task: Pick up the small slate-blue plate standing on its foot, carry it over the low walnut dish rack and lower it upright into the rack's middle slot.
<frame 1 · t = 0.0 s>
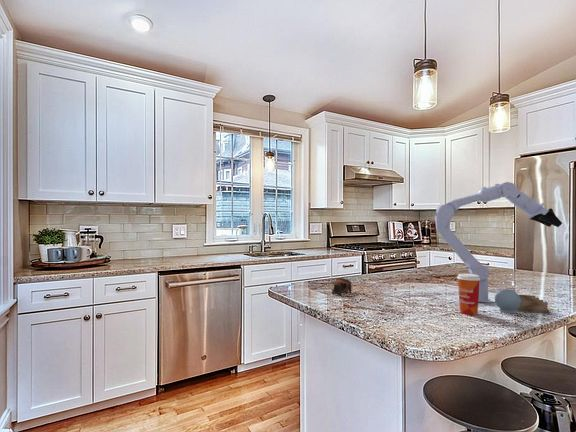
hand: (555, 225, 133), 32 cm above the countertop, tool tilted 50°, fingers open, 7 cm apart
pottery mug: (342, 294, 154), on the countertop
plate: (507, 312, 123), on the countertop
rack: (527, 308, 128), on the countertop
paper cup: (468, 313, 122), on the countertop
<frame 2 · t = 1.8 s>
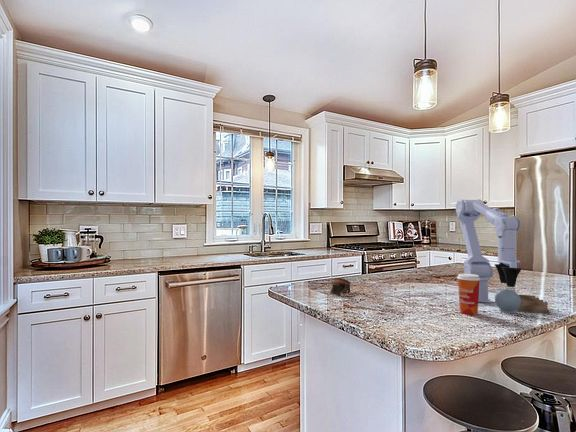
hand: (507, 284, 123), 10 cm above the countertop, tool pointing down, fingers open, 7 cm apart
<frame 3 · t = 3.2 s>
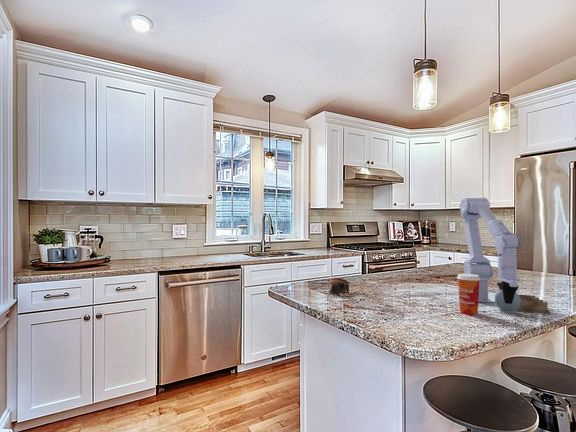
hand: (507, 302, 123), 3 cm above the countertop, tool pointing down, fingers closed on plate, 2 cm apart
plate: (507, 312, 123), on the countertop, touching gripper
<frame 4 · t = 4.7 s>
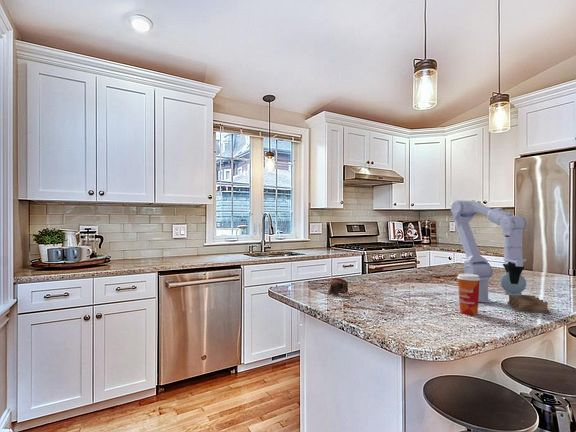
hand: (513, 283, 125), 10 cm above the countertop, tool pointing down, fingers closed on plate
plate: (513, 294, 125), point 6 cm above the countertop, touching gripper
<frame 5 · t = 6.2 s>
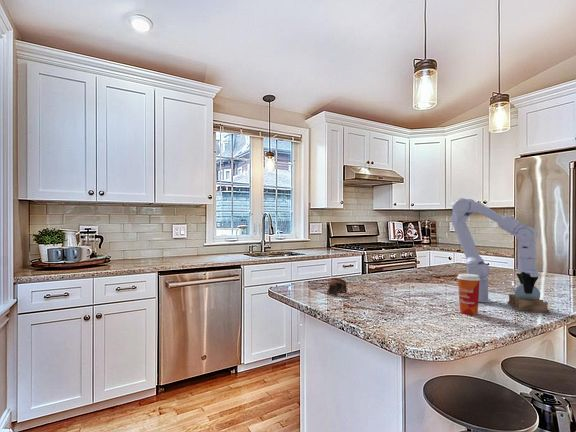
hand: (527, 292, 129), 6 cm above the countertop, tool pointing down, fingers closed on plate, 2 cm apart
plate: (527, 305, 128), point 1 cm above the countertop, touching gripper, rack
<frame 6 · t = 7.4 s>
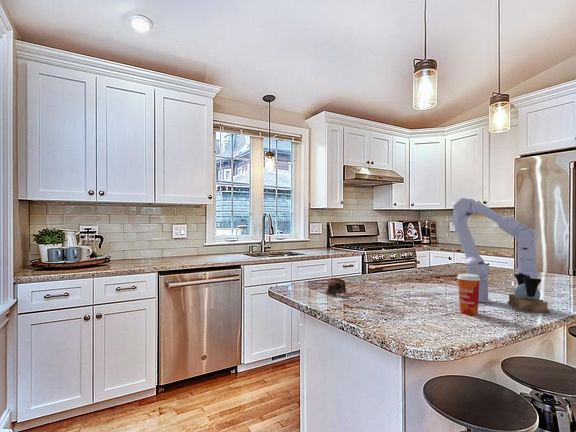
hand: (527, 294, 129), 5 cm above the countertop, tool pointing down, fingers open, 7 cm apart
plate: (527, 305, 128), point 1 cm above the countertop, touching rack
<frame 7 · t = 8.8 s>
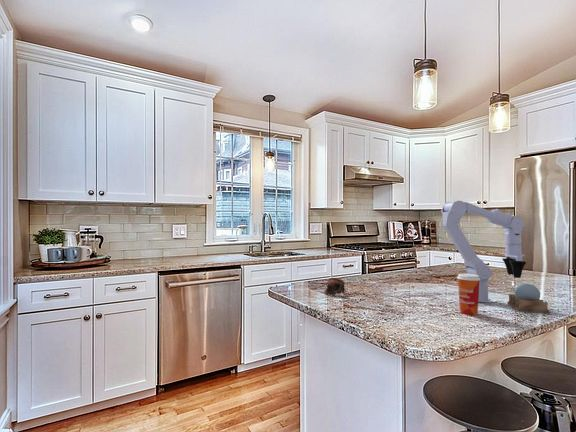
hand: (514, 276, 141), 10 cm above the countertop, tool pointing down, fingers open, 7 cm apart
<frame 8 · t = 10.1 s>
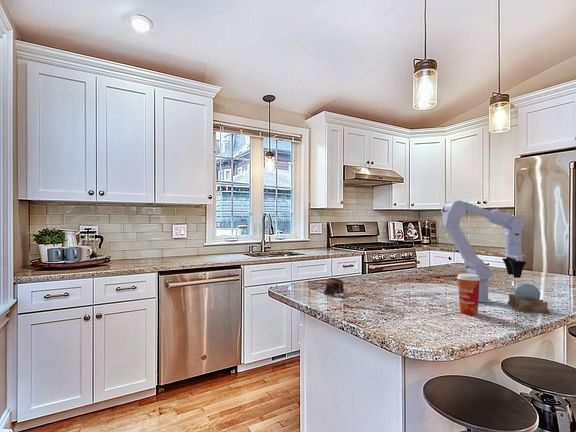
hand: (514, 276, 141), 10 cm above the countertop, tool pointing down, fingers open, 7 cm apart
at the end: plate 0.0 cm off-centre on the rack, point 1.0 cm above the rack's base; plate tilted 0°; the gripper is holding nothing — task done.
